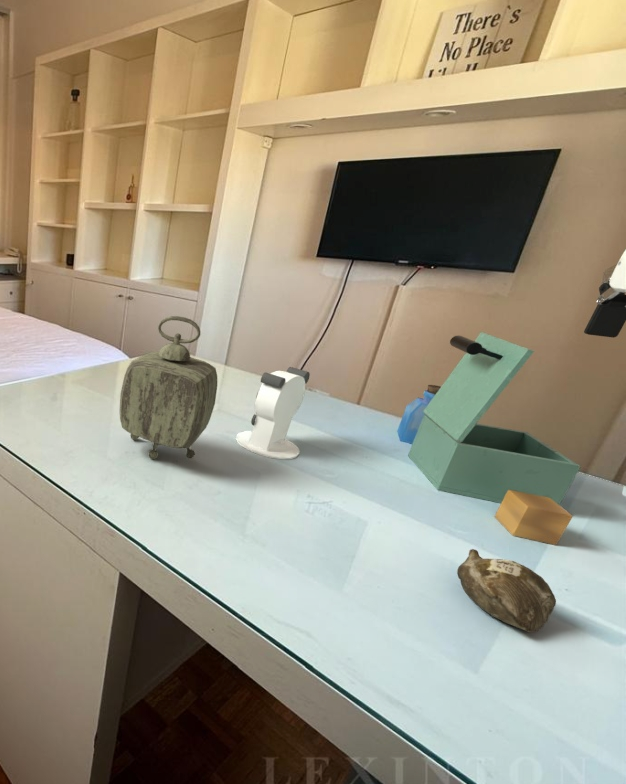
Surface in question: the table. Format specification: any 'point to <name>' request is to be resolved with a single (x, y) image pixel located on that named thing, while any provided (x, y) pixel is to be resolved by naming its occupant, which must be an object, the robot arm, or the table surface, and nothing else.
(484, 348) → the lid
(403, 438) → the perfume bottle
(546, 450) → the green storage box
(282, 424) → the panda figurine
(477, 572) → the fossilized seashell
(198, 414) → the tabletop clock
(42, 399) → the table surface
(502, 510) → the block
